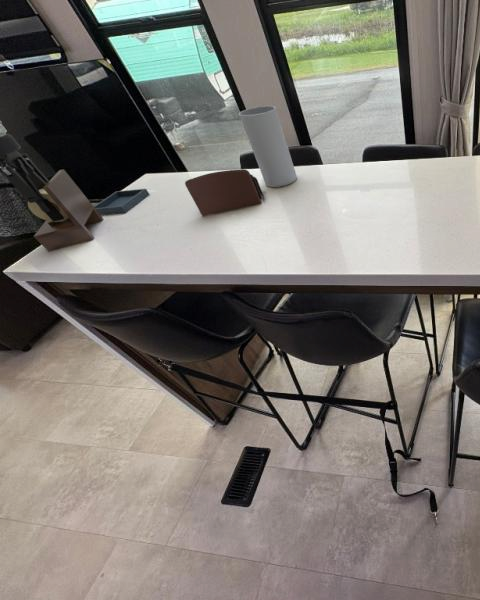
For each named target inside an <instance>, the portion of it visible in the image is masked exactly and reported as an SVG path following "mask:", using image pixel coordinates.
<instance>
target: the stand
mask: <svg viewBox="0 0 480 600" xmlns="http://www.w3.org/2000/svg"><path fill="white" fill-rule="evenodd" d="M43 189H44V190H45V191H46V192H47V193H48V194H49V196H50V197H51V198H52V199H53V200H54V201H55V202H56V204H57V205H58V206H59V207H60V208H61V209H62V210H63V212H64V213H65V214H66V215H67V216H68V217H69V218H68V219H66V220H64V221H61V222H51V221H46V220H44V222H43V224H42V225H41V226H40V227H39V229H38V230H37V231H36V232H35V234H34V235H33V238H35V240H36V241H37V242H38V243H39V244H41V246H43V248H44V249H45V250H46V251H47V252H53V251H57V250H60V249H64V248H68V247H73V246H76V245H80V244H83V243H87V242H91V241H94V240H95V236H94V235H93V234H92V233H91V231H90V230H89V229H88V228H87V226H88V225H92V224H96V223H101V222H103V221H104V220H105V219H104V218H103V216H102V215H100V214H99V213H98V211H97V210H96V209H95V208H94V206H95V205H93V204H92V203H91V201H90V200H89V199H88V197H87V196H86V195H85V194H84V193H83V191H82V190H81V189H80V187H79V186H78V185H77V184H76V182H75V181H74V180H73V179H72V177H70V175H69V174H68V173H67V171H66V170H65V169H59V170H58V171H57V172H56V173H55V174H54V176H52V178H51V179H50V180H49V182H48V183H47V184H46V185H45V186H44V187H43Z"/></svg>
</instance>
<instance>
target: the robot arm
mask: <svg viewBox="0 0 480 600" xmlns="http://www.w3.org/2000/svg"><path fill="white" fill-rule="evenodd" d="M7 131H8V130H7V129H6V128H5V126H4V125H3V121H2V120H0V165H1V167H0V174H2V176H4V177H5V178H6V179H7V180H8V182H10V183H11V185H12V186H14V188H15V189H16V190H17V191H18V192H19V193H20V194H21V195H22V197H23V198H24V199H25V200H26V201H27V203H28V202H30V203H34V202H36V203H37V205H38V206H39V207H40V208H41V209H42V210H43V211H44V212H45V213H46V214H47V215H48V216H49V218H50V219H51V220H52V221H53V222H54V221H58V220H62V219H64V217H63V216H62V215H61V214H60V213H59V212H58V210H57V209H56V208H55V207H54V206H53V205H52V204H51V203H50V201H49V200H48V199H47V198H46V199H44V197H43V196H42V194H41V193H40V192H39V190H40V189H43V187H44V186H45V185H46V184H47V183H48V182H49V181H50V180H49V179H48V178H47V177H46V176H45V174H44V173H43V172H42V171H41V170H40V169H39V167H38V166H37V165H36V164H35V163H34V161H32V159H31V157H30V156H29V155H28V154H27V153H22V154H21V153H20V152H19V150H21V148H22V147H21V144H20V143H19V142H18V141H17V140H16V139H15V137H14V136H13V135H12V134H10V133H7Z"/></svg>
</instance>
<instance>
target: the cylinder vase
mask: <svg viewBox="0 0 480 600" xmlns="http://www.w3.org/2000/svg"><path fill="white" fill-rule="evenodd" d="M238 116H239V118H240V121H241V124H242V127H243V129H244V131H245V134H246V136H247V140H248V142H249V144H250V147H251V150H252V152H253V155H254V158H255V160H256V163H257V166H258V168H259V171H260V174H261V176H262V179H263V181H264V184H265V185H266V186H267V187H269V188H280V187H286V186H289V185H291V184H293V183H295V181H296V180H297V177H298V176H297V172H296V169H295V166H294V163H293V159H292V156H291V153H290V150H289V147H288V143H287V140H286V137H285V134H284V129H283V126H282V124H281V121H280V117H279V114H278V111H277V107H276V106H274V105H264V106H263V105H262V106H256V107H251V108H248V109H244V110H242V111H240V112H239V113H238Z"/></svg>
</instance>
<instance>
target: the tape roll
mask: <svg viewBox="0 0 480 600" xmlns="http://www.w3.org/2000/svg"><path fill="white" fill-rule="evenodd" d="M38 190H39V189H38ZM39 192H40V193H41V194H42V196H43V197H44V199H46V198H47V199H48V200H49V201H50V203H51V204H52V205H53V206H54V207H55V208H56V209H57V210H58V212H59V213H60V214H61V215H62V216H63V217H64V219H62V220H58V221H54V222H61V221H64V220H66V219H68V218H69V217H68V216H67V215H66V214H65V213H64V212H63V210H62V209H61V208H60V207H59V206H58V205H57V204H56V202H55V201H54V200H53V199H52V198H51V197H50V196H49V194H48V193H47V192H46V191H45V190H44V189H40V190H39ZM27 207H28V209H29V211H30V212H31V213H32V214H33V215H35V216H36V217H37V218H39V219H41V220H43V221H51V222H53V221H52V220H51V219H50V218H49V216H48V215H47V214H46V213H45V212H44V211H43V210H42V209H41V208H40V207H39V206H38V205H37V203H36V202H34V203H30V202H28V201H27Z"/></svg>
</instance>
